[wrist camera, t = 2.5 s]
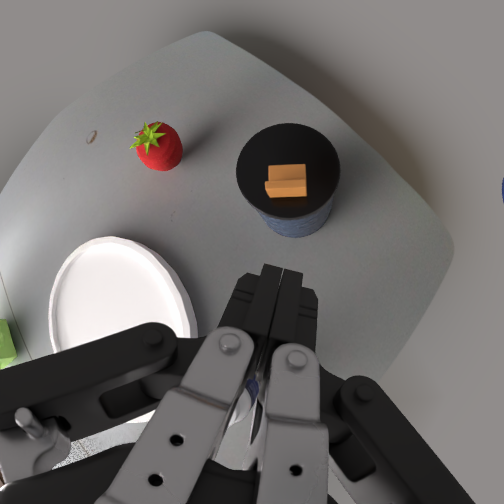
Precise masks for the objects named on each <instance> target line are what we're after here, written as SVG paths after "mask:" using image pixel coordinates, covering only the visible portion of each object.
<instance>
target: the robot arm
mask: <svg viewBox="0 0 504 504" xmlns="http://www.w3.org/2000/svg"><path fill="white" fill-rule="evenodd" d="M282 270H283V268H280V267H276V266H272V265H269V264H265V263H264V266H263V269H262V272H261V275H260V276H258V275H254V274H251V273H246V274H245V275H243V276H242V277H241V278H239V279H238V281H237V284H236V286H235V288H234V290H233V293H232V295H231V298H230V300H229V302H228V304H227V307H226V309H225V311H224V313H223V316H222V318H221V320H220V323H219V325H218V327H217V328H216V329H214V330H212V331H211V332H210V333H209V334H208V335H207V336H204V337H200V338H181V337H177V336H176V334H175V332H174V331H173V329H171V328H170V327H169V326H167V325H165V324H163V323H159V322H147V323H144V324H141V325H138V326H135V327H132V328H129V329H126V330H123V331H120V332H118V333H115V334H112V335H109V336H106V337H103V338H100V339H97V340H94V341H91V342H88V343H85V344H82V345H79V346H76V347H73V348H70V349H66V350H63V351H60V352H57V353H54V354H51V355H48V356H44V357H41V358H38V359H35V360H32V361H28V362H25V363H22V364H18V365H15V366H12V367H8V368H5V369H2V370H0V469H1V472H2V476H3V478H4V481H5V485H4V486H3V487H2V488H1V489H0V504H338V503H337V502H336V501H335V500H334V499H333V498H332V497H331V496H330V495H329V494H328V493H327V491H328V466H329V467H330V468H331V470H332V471H333V472H334V474H335V475H336V477H337V478H338V480H339V481H340V482H341V484H342V485H343V487H344V488H345V489H346V491H347V492H348V493H349V495H350V496H351V498H352V499H353V500H354V502H355V503H356V504H475V503H474V501H473V500H472V499H471V498H470V496H469V495H468V494H467V493H466V491H465V490H464V489H463V488H462V486H461V485H460V484H459V483H458V481H457V480H456V479H455V478H454V476H453V475H452V474H451V473H450V471H449V470H448V469H447V468H446V467H445V465H444V464H443V463H442V462H441V460H440V459H439V458H438V457H437V455H436V454H435V453H434V452H433V450H432V449H431V448H430V447H429V446H428V444H427V443H426V442H425V441H424V439H423V438H422V437H421V436H420V434H419V433H418V432H417V431H416V430H415V428H414V427H413V426H412V425H411V424H410V422H409V421H408V420H407V419H406V417H405V416H404V415H403V414H402V413H401V411H400V410H399V409H398V408H397V407H396V405H395V404H394V403H393V402H392V401H391V400H390V398H389V397H388V396H387V395H386V393H385V392H384V391H383V390H382V389H381V387H380V386H379V385H378V384H377V383H376V382H375V381H374V380H372V379H370V378H368V377H365V376H352V377H350V378H348V379H347V380H346V381H345V380H343V379H341V378H339V377H337V376H335V375H333V374H331V373H329V372H328V371H326V370H325V369H324V368H323V367H322V366H321V365H320V364H319V360H318V358H317V356H316V354H315V346H316V331H317V310H318V298H317V296H316V294H315V292H314V290H313V289H309V288H305V287H302V279H303V273H300V272H296V271H292V270H288V269H284V271H283V275H282V278H281V274H282ZM280 279H281V282H280ZM279 283H280V285H279ZM278 288H279V289H278ZM261 354H262V355H261ZM260 357H261V359H260ZM259 360H260V362H259ZM258 363H259V366H258ZM257 366H258V370H257V374H256V378H255V381H259V382H261V385H260V389H259V393H258V395H257V398H256V401H255V406H254V412H253V418H252V424H251V430H250V436H249V442H248V448H247V452H246V455H245V458H244V462H243V467H242V470H232V469H229V468H226V467H224V466H223V465H221V464H219V463H217V462H215V461H214V460H215V458H216V455H217V453H218V450H219V448H220V445H221V442H222V440H223V437H224V435H225V433H226V430H227V428H228V425H229V423H230V421H231V418H232V416H233V413H234V411H235V408H236V406H237V403H238V401H239V398H240V396H241V395H242V393H243V392H244V389H245V386H246V383H247V379H251V380H253V378H254V375H255V372H256V369H257ZM154 410H155V412H154V414H153V415H152V417H151V419H150V420H149V422H148V424H147V425H146V427H145V429H144V430H143V432H142V434H141V435H140V437H139V439H138V440H137V442H135V443H127V444H122V445H118V446H115V447H112V448H109V449H107V450H105V451H102V452H100V453H97V454H95V455H92V456H90V457H87V458H84V459H82V460H79V461H76V462H74V463H71V464H68V465H65V466H62V467H59V468H56V469H53V470H52V468H53V467H54V466H55V465H56V464H58V463H60V462H62V461H64V460H65V459H66V458H67V457H68V455H69V453H70V450H71V442H73V441H76V440H79V439H82V438H85V437H88V436H91V435H94V434H96V433H99V432H102V431H105V430H107V429H110V428H113V427H115V426H118V425H120V424H123V423H125V422H128V421H130V420H133V419H135V418H138V417H140V416H142V415H145V414H147V413H149V412H152V411H154Z"/></svg>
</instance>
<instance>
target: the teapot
mask: <svg viewBox="0 0 504 504" xmlns="http://www.w3.org/2000/svg"><path fill="white" fill-rule="evenodd" d="M16 357H17V352H16V349H15V348H14V345H13V342H12V338H11V335H10V329H9V327H8V325H7V321H6V319H0V370H1V369H3V368H5V367H6V366H7V365H8V364H9V363H10V362H12V361H13V360H14V359H15V358H16Z"/></svg>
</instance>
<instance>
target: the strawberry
mask: <svg viewBox="0 0 504 504" xmlns="http://www.w3.org/2000/svg"><path fill="white" fill-rule="evenodd" d="M139 132H140V134H139V136H136V137H134V138H136V139H137V141H136V142H135V143H134V144H133V145H132V146H131V147H130V148H133V147H136V150H137V154H138V156H139V158H140V159H141V161H142V162H143V163H144V164H145V165H146V166H147V167H149V168H150V169H154V170H159V171H168V170H171V169H173V168H174V167H176V166H177V165H178V164H179V162H180V160H181V157H182V153H183V148H182V143H181V141H180V138H179V135H178V134H177V132H176V131H175V130H174V129H173V128H172V127H170V126H169V125H167V124H165V123H161V122H158V121H157V122H155V123H151V124H149V125H147V124H146V123H145V124H144V129H142V131H139ZM135 133H138V132H135Z"/></svg>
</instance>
